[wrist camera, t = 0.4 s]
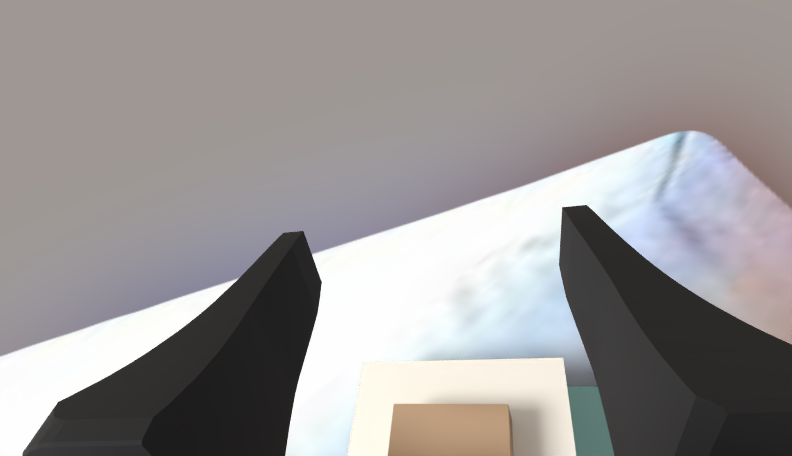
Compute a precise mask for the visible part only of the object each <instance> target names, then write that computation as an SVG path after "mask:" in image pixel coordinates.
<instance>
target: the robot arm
mask: <svg viewBox="0 0 792 456" xmlns="http://www.w3.org/2000/svg"><path fill="white" fill-rule="evenodd" d="M559 266H560V271H561V276H562V280H563V285H564V289H565V294H566V298H567V301H568V303H569V306H570V309H571V312H572V315H573V317H574V320H575V323H576V326H577V328H578V331H579V334H580V336H581V339H582V342H583V345H584V347H585V350H586V353H587V356H588V358H589V361H590V364H591V366H592V369H593V373H594V376H595V379H596V382H597V386H598V390H599V394H600V398H601V402H602V406H603V410H604V414H605V418H606V422H607V426H608V430H609V435H610V439H611V443H612V447H613V452H614V456H792V345H791V344H789V343H787V342H785V341H783V340H781V339H778V338H776V337H774V336H772V335H770V334H767V333H765V332H763V331H761V330H759V329H757V328H755V327H753V326H751V325H749V324H747V323H745V322H743V321H741V320H740V319H738V318H736V317H734V316H732V315H730V314H729V313H727V312H725V311H723V310H721V309H719V308H718V307H716V306H714V305H712V304H711V303H709V302H707V301H706V300H704V299H702V298H701V297H699V296H698V295H696V294H694V293H693V292H691V291H690V290H688V289H687V288H685V287H684V286H682V285H680V284H679V283H677V282H676V281H675V280H673V279H672V278H670V277H669V276H667V275H666V274H665V273H663V272H662V271H661V270H659V269H658V268H657V267H656V266H654V265H653V264H652V263H650V262H649V261H648V260H647V259H645V258H644V257H643V256H642V255H641V254H639V253H638V252H637V251H636V250H635V249H634V248H632V247H631V246H630V245H629V244H628V243H627V242H625V241H624V240H623V239H622V238H621V237H620V236H619V235H618V234H617V233H616V232H614V231H613V230H612V229H611V228H610V227H609V226H608V225H607V224H606V223H605V222H604V221H603V220H602V219H601V218H600V217H599V216H598V215H597V214H596V213H595V212H594V211H593V210H591V209H590V208H589V207H588V206H587V205H583V206H572V207H562V224H561V241H560V259H559ZM321 283H322V282H321V279H320V277H319V274H318V271H317V268H316V265H315V263H314V260H313V257H312V254H311V251H310V249H309V246H308V243H307V240H306V237H305V235H304V232H303V231H299V232H289V233H283V234H282V235H281V236H280V237H279V238H278V239H277V240H276V241H275V242H274V243H273V244H272V245H271V246H270V247H269V248H268V249H267V250H266V251H265V252H264V253H263V254H262V255H261V256H260V257H259V258H258V260H257V261H256V262H255V263H254V264H253V265H252V266H251V267H250V268H249V269H248V270H247V271H246V272H245V273H244V274H243V275H242V276H241V277H240V278H239V279H238V280H237V281H236V282H235V283H234V284H233V285H232V286H231V287H230V288H229V289H228V290H226V291H225V292H224V293H223V294H222V295H221V296H220V297H219V298H218V299H217V300H216V301H215V302H214V303H213V304H211V305H210V306H209V307H208V308H207V309H206V310H205V311H203V312H202V313H201V314H200V315H199V316H197V317H196V318H195V319H194V320H192V321H191V322H190V323H188V324H187V325H186V326H185V327H183V328H182V329H181V330H179V331H178V332H177V333H175V334H174V335H172V336H171V337H169V338H168V339H167V340H165V341H164V342H162V343H161V344H159V345H158V346H157V347H155V348H154V349H152V350H151V351H149V352H148V353H146V354H145V355H143V356H142V357H140V358H138V359H137V360H135V361H134V362H132V363H130V364H129V365H127V366H125V367H124V368H122V369H120V370H118V371H117V372H115V373H113V374H112V375H110V376H108V377H106V378H104V379H103V380H101V381H99V382H97V383H95V384H93V385H91V386H89V387H87V388H85V389H83V390H81V391H79V392H77V393H75V394H74V395H72V396H70V397H68V398H66V399H64V400H61V401H59V402H58V403H57V405H56V406H55V408H54V409H53V410H52V412H51V413H50V415H49V416H48V418H47V419H46V420H45V422H44V423H43V425H42V426H41V428H40V429H39V430H38V432H37V433H36V435H35V436H34V438H33V439H32V440H31V442H30V443H29V445H28V446H27V448H26V449H25V450H24V452H23V456H285V452H286V445H287V439H288V432H289V425H290V420H291V414H292V408H293V402H294V397H295V392H296V388H297V384H298V380H299V376H300V373H301V369H302V366H303V362H304V359H305V355H306V352H307V348H308V345H309V342H310V338H311V335H312V331H313V327H314V324H315V320H316V316H317V312H318V306H319V299H320V291H321Z"/></svg>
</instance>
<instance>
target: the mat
mask: <svg viewBox="0 0 792 456" xmlns="http://www.w3.org/2000/svg"><path fill="white" fill-rule="evenodd" d="M567 390H568V397H569V405H570V412H571V420H572V427H573V435H574V442H575V450H576V456H614V452H613V447H612V443H611V439H610V435H609V430H608V426H607V422H606V418H605V414H604V410H603V406H602V402H601V398H600V394H599V390H598V386H567Z"/></svg>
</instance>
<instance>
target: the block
mask: <svg viewBox="0 0 792 456" xmlns="http://www.w3.org/2000/svg"><path fill="white" fill-rule="evenodd" d="M388 456H514V453H513V433H512V418H511V414H510V410H509V406H508V404H394V406H393V415H392V423H391V431H390V440H389V448H388Z"/></svg>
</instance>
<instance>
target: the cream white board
mask: <svg viewBox="0 0 792 456" xmlns="http://www.w3.org/2000/svg"><path fill="white" fill-rule="evenodd" d="M394 404H508V406H509V410H510V414H511V418H512V433H513V453H514V456H576V450H575V442H574V435H573V427H572V420H571V412H570V405H569V397H568V390H567V382H566V375H565V367H564V360H563V358H528V359H483V360H437V361H392V362H363V367H362V373H361V378H360V384H359V390H358V396H357V402H356V407H355V413H354V419H353V425H352V430H351V436H350V442H349V448H348V454H347V456H388V448H389V440H390V431H391V423H392V415H393V406H394Z"/></svg>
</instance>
